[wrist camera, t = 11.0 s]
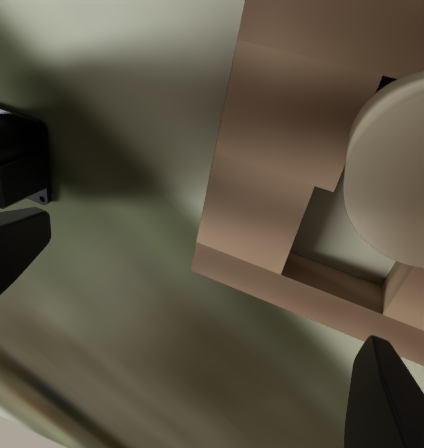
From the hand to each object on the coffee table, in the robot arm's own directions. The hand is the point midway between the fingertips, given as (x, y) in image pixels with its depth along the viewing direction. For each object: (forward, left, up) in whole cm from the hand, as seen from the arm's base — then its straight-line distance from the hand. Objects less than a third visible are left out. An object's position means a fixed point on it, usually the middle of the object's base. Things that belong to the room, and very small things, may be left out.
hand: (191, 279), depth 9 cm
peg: (+5, +3, -12) cm, 13 cm away
